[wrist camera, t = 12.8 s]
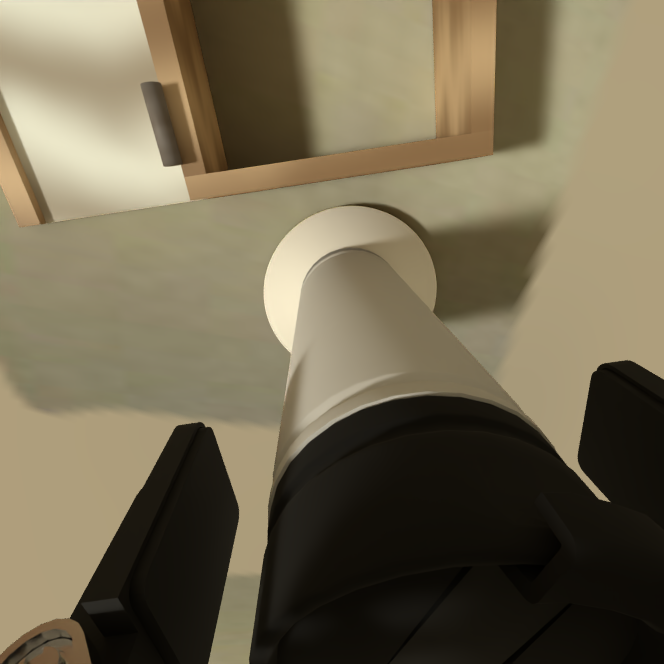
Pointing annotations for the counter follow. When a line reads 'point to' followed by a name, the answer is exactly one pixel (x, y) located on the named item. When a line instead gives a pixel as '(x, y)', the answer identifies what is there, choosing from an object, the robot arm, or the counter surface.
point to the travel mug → (433, 505)
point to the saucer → (337, 233)
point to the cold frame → (182, 109)
